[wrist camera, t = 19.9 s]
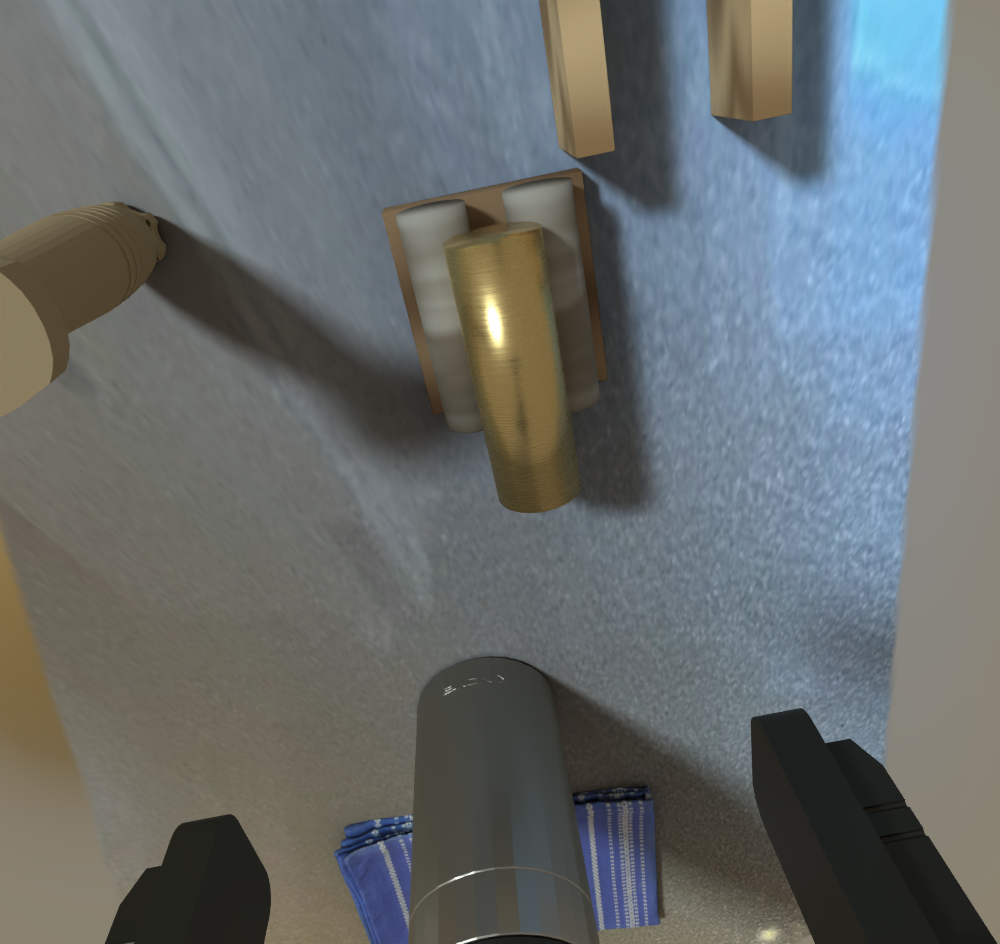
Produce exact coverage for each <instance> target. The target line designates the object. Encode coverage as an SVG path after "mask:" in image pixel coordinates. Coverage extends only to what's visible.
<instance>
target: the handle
mask: <svg viewBox="0 0 1000 944" xmlns="http://www.w3.org/2000/svg"><path fill="white" fill-rule="evenodd" d="M157 225H158V221H157V220H156V218H155V217H154V216H153V215H152V214H150V213H148V214H146V213H140V212H137V211H134V210H132V209H130V208H129V207H127V206H126V205H125V204H124V203H123V202H106V203H102V204H100V205H92V206H85V207H80V208H76V209H71V210H67V211H63V212H60V213H57V214H54V215H51V216H48V217H45V218H42V219H40V220H38V221H36V222H34V223H32V224H30V225H28V226H26V227H24V228H22V229H20V230H19V231H17V232H15V233H13V234H11V235H9V236H7V237H5V238H3V239H1V240H0V416H4V415H6V414H8V413H10V412H11V411H13V410H15V409H17V408H18V407H20V406H21V405H22V404H24V403H25V402H27V401H28V400H29V399H31V398H32V397H33V396H34V395H36V394H37V393H38V392H40V391H41V390H42V389H43V388H45V387H46V386H47V385H48V384H50V383H51V382H52V381H53V380H55V379H56V378H57V377H58V376H59V375H61V374H62V373H63V372H64V371H65V370H66V367H67V363H68V359H69V346H70V345H69V339H68V333H70V332H72V331H74V330H76V329H77V328H79V327H81V326H83V325H85V324H87V323H89V322H91V321H93V320H94V319H96V318H98V317H100V316H102V315H104V314H106V313H108V312H109V311H111V310H112V309H114V308H115V307H117V306H118V305H119V304H121V303H122V302H123V301H125V300H126V299H128V298H129V297H130V296H131V295H132V294H133V293H134V292H135V291H136V290H137V289H138V288H139V287H140V286H141V285H142V284H143V283H144V282H145V281H146V280H147V278H148V277H149V275H150V274H151V272H152V271H153V269H154V266H155V263H156V262H157V261H160V260H161V259H162V258H163V257H164V255H165V253H166V244H165V243H164V242H163V241H162V240H161V238H160V235H159V233H158V227H157Z"/></svg>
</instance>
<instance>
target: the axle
mask: <svg viewBox="0 0 1000 944" xmlns="http://www.w3.org/2000/svg"><path fill="white" fill-rule="evenodd" d="M443 249H444V254H445V258H446V263H447V267H448V272H449V276H450V281H451V285H452V290H453V295H454V299H455V304H456V308H457V313H458V317H459V322H460V326H461V331H462V335H463V340H464V344H465V349H466V353H467V358H468V362H469V367H470V372H471V376H472V381H473V385H474V390H475V394H476V399H477V403H478V408H479V412H480V417H481V421H482V426H483V430H484V435H485V439H486V444H487V449H488V453H489V458H490V462H491V467H492V471H493V476H494V480H495V485H496V489H497V494H498V498H499V501H500V503H501V504H502V505H503V506H504V507H506V508H507V509H509V510H512V511H515V512H521V513H538V512H545V511H549V510H553V509H556V508H558V507H561V506H563V505H565V504H567V503H568V502H570V501H571V500H573V499H574V498H575V497H576V496H577V495H578V493H579V492H580V489H581V479H580V473H579V466H578V460H577V453H576V447H575V440H574V434H573V427H572V421H571V415H570V408H569V402H568V395H567V389H566V382H565V376H564V369H563V363H562V356H561V350H560V344H559V337H558V331H557V324H556V318H555V311H554V305H553V298H552V292H551V285H550V279H549V272H548V266H547V260H546V253H545V247H544V240H543V234H542V227H541V224H540V223H537V222H530V221H521V222H509V223H502V224H496V225H491V226H486V227H482V228H478V229H474V230H470V231H467V232H464V233H461V234H458V235H456V236H454V237H452V238H450V239H448V240H446V241H445V242H444V243H443Z"/></svg>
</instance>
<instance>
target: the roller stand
mask: <svg viewBox="0 0 1000 944" xmlns="http://www.w3.org/2000/svg"><path fill="white" fill-rule="evenodd" d="M382 215H383V219H384V223H385V227H386V231H387V235H388V239H389V242H390V246H391V250H392V254H393V258H394V262H395V266H396V270H397V274H398V278H399V282H400V286H401V290H402V294H403V297H404V301H405V305H406V309H407V313H408V317H409V321H410V325H411V329H412V333H413V337H414V341H415V345H416V348H417V352H418V356H419V360H420V364H421V368H422V372H423V376H424V380H425V384H426V388H427V392H428V396H429V400H430V403H431V407H432V411H433V415H436V414H441V413H444V415H445V419H446V423H447V426H448V428H449V429H450V430H452V431H454V432H459V433H473V432H479V431H483V426H482V421H481V417H480V412H479V408H478V403H477V399H476V394H475V390H474V385H473V381H472V376H471V372H470V367H469V362H468V358H467V353H466V349H465V344H464V340H463V335H462V331H461V326H460V322H459V317H458V313H457V308H456V304H455V299H454V295H453V290H452V285H451V281H450V276H449V272H448V267H447V263H446V258H445V254H444V249H443V243H444V242H445V241H446V240H448V239H450V238H452V237H454V236H456V235H458V234H461V233H464V232H467V231H470V230H474V229H478V228H482V227H486V226H491V225H496V224H502V223H509V222H521V221H530V222H537V223H540V224H541V227H542V234H543V240H544V247H545V253H546V260H547V266H548V272H549V279H550V285H551V292H552V298H553V305H554V311H555V318H556V324H557V331H558V337H559V344H560V350H561V356H562V363H563V369H564V376H565V382H566V389H567V395H568V402H569V408H570V413H574V412H578V411H582V410H584V409H587V408H589V407H591V406H593V405H594V404H596V403H597V402H598V401H599V399H600V390H599V381H604V380H608V377H607V369H606V361H605V353H604V345H603V337H602V329H601V321H600V313H599V305H598V297H597V289H596V281H595V273H594V265H593V257H592V249H591V241H590V233H589V225H588V217H587V208H586V200H585V192H584V184H583V176H582V171H581V170H580V169H579V168H574V169H569V170H564V171H559V172H555V173H550V174H545V175H540V176H536V177H531V178H526V179H521V180H517V181H512V182H507V183H502V184H498V185H493V186H488V187H483V188H479V189H474V190H469V191H464V192H460V193H455V194H450V195H445V196H441V197H436V198H431V199H426V200H422V201H417V202H412V203H407V204H402V205H398V206H393V207H388V208H384V209H383V211H382Z"/></svg>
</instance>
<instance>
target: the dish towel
mask: <svg viewBox="0 0 1000 944" xmlns="http://www.w3.org/2000/svg"><path fill="white" fill-rule="evenodd" d="M572 795H573V800H574V806H575V811H576V817H577V822H578V828H579V833H580V839H581V845H582V850H583V856H584V861H585V867H586V872H587V878H588V883H589V889H590V894H591V900H592V906H593V910H594V915H595V920H596V926H597V931H600V930H604V929H614V928H634V927H640V926H649V925H658V924H660V918H659V914H658V895H657V870H656V852H655V850H656V848H655V816H654V800H653V797H652V796H651V792H650V786H649V785H646V786H645V788H644V789H640V788H627V787H625V788H623V787H619V788H615V789H608V790H601V791H594V792H583V793H578V794H572ZM412 829H413V814H411V815H405V816H401V817H392V818H382V819H374V820H369V821H365V822H362V823H357V824H352V825H349V826H347V827H345V828H344V832H345V835H346V839H343V840H342V842H341V849H338V850H336V851H335V852H334V856H335V857H336V859H337V861H338V865H339V867H340V870H341V873H342V875H343V878H344V880H345V882H346V884H347V886H348V888H349V890H350V892H351V895H352V897H353V900H354V902H355V905H356V908H357V911H358V913H359V916H360V919H361V921H362V924H363V926H364V928H365V931H366V934H367V936H368V939H369V941H370V943H371V944H408V938H409V905H410V879H411V854H412Z"/></svg>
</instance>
